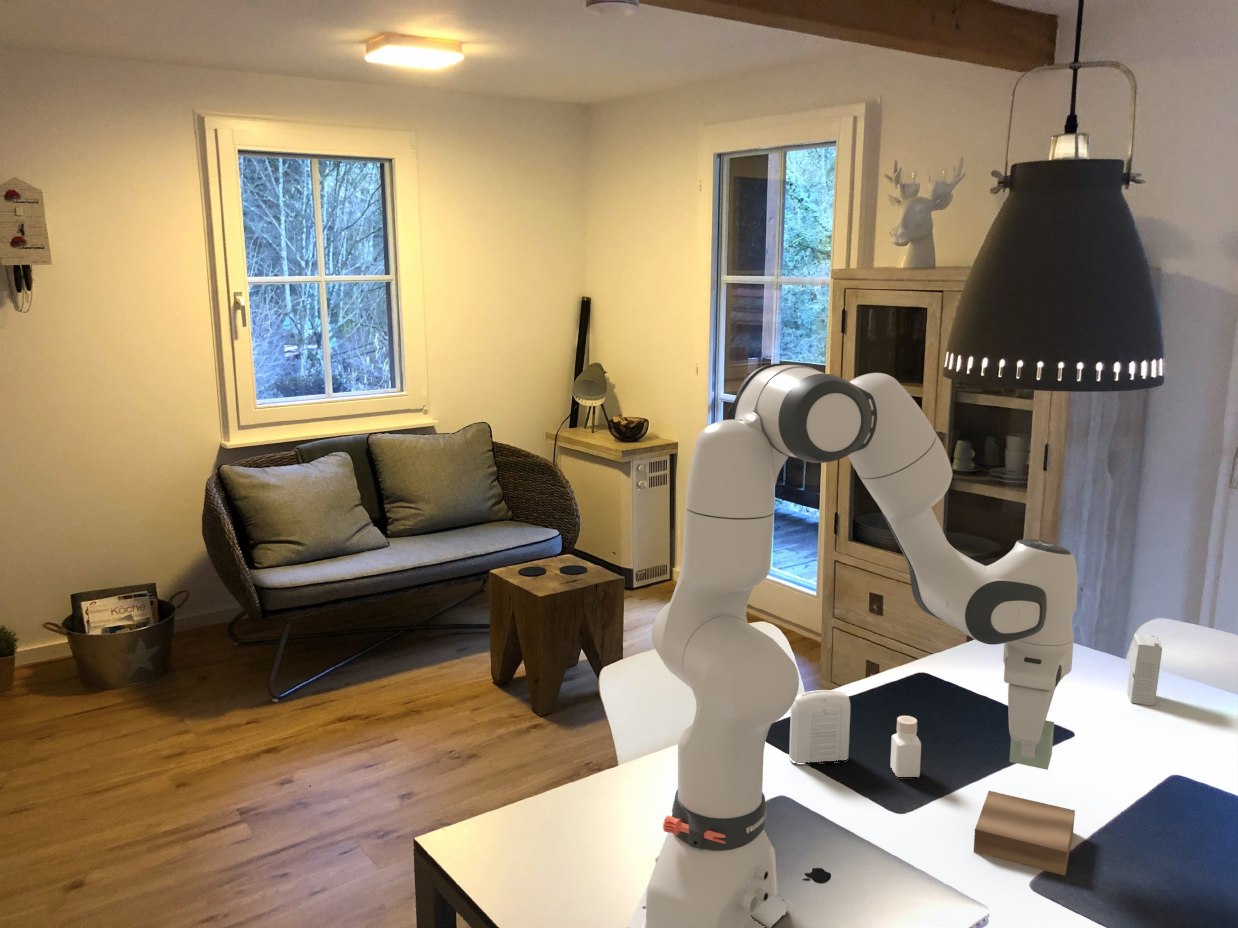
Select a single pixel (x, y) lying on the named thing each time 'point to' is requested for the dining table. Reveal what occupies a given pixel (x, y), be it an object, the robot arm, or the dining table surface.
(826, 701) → the white rounded block
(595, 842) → the dining table surface
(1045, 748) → the green cube
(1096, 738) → the dining table surface
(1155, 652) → the skincare box
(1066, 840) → the walnut block
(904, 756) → the salt shaker
